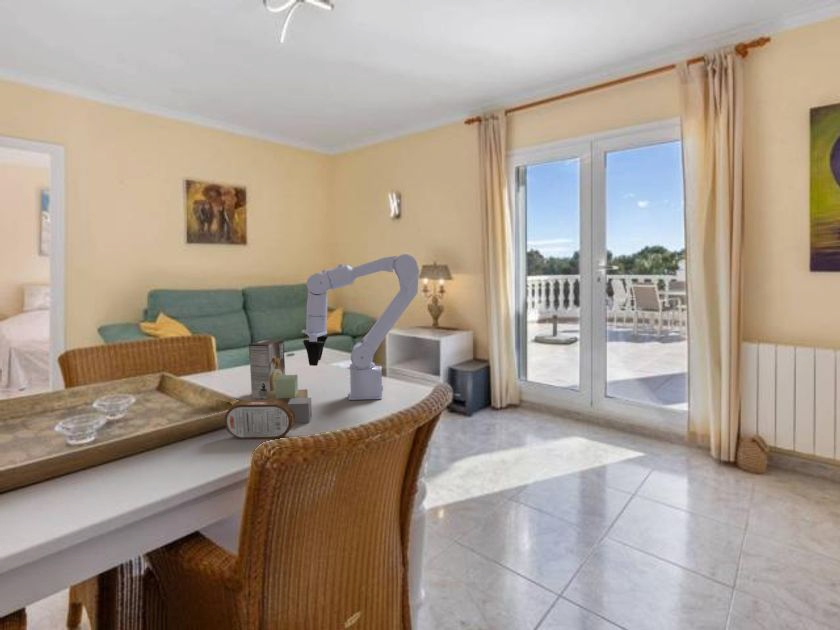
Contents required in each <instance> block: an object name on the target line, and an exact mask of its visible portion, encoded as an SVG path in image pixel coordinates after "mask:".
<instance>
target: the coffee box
mask: <svg viewBox="0 0 840 630" xmlns="http://www.w3.org/2000/svg"><path fill="white" fill-rule="evenodd" d="M284 341H285V340H284V339H276V338H275V339H274V338H273V339H271V338H269V339H267V338H265V339H262V340H258V341H255V342H252V343H248V347H249V349H248V351H249V367H250V369H249V371H250V385H251V386H250V387H251V399H262V398H263V399H264V400H265V399H266V398H267V396H268V394H269V393H270V391H275V379H276V378H277V377H278V375H286V367H285V366H286V364H285V363H286V361H285V343H284ZM263 399H262V400H263Z"/></svg>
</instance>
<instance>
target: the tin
mask: <svg viewBox="0 0 840 630" xmlns="http://www.w3.org/2000/svg"><path fill="white" fill-rule="evenodd" d="M294 422H295V415H294V412H293V410H292V408H291V407H290V406H289V405H288V404H287V403H285V402H283V401H279V400H265V399H264V400H263V399H260V400H259V399H255V400H253V399H252V400H251V399H250V400H249V399H245V400H244V399H242V400H237V401H236V402H234V403H233V404H232V405H231V406H230V407H229V409H228V410H227V411H226V413H225V415H224V426H225V429H226V431H228V433H229V434H230V435H231V436H232V437H235V438H237V439H240V440H257V439H258V440H259V439H262V440H265V439H268V440H270V439H271V440H272V439H273V440H274V439H276V438H277V439H281V438H284V437H285V436H286V435H287V434H288V433H290V430H292V428H293V426H294Z"/></svg>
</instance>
